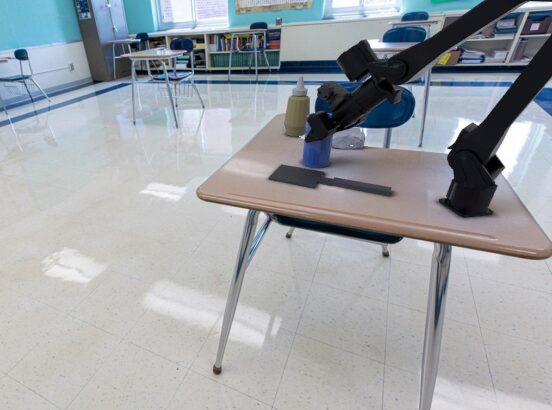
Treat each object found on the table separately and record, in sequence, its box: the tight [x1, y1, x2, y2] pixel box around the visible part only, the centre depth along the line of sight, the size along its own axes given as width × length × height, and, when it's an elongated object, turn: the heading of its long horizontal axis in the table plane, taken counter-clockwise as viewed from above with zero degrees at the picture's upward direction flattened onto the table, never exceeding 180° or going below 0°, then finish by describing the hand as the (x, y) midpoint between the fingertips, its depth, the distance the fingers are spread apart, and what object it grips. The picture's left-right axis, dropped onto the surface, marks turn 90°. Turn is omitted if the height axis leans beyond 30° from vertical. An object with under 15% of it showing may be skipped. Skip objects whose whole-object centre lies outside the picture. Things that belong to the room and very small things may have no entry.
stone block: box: [331, 126, 366, 150], centre depth 99 cm, size 12×5×10 cm
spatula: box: [268, 164, 393, 197], centre depth 77 cm, size 26×9×1 cm, turn 59°
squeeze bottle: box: [283, 75, 311, 137], centre depth 104 cm, size 8×8×18 cm
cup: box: [301, 112, 333, 169], centre depth 84 cm, size 7×7×12 cm
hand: (313, 137), depth 85 cm, fingers closed on cup, 7 cm apart
